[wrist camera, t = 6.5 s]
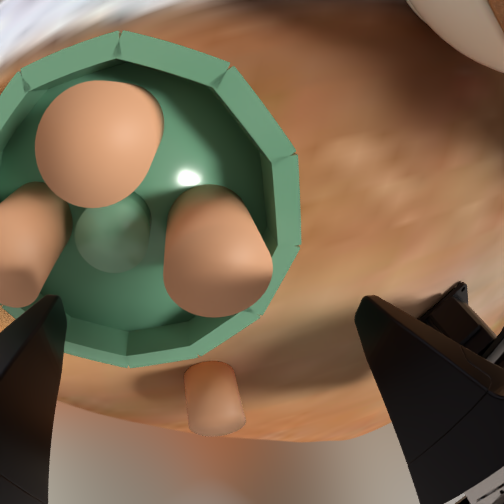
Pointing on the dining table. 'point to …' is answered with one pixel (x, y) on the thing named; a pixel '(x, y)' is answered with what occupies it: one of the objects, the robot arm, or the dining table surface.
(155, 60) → the ring tray
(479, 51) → the lidded jar
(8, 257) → the bead
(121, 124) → the bead
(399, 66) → the dining table surface
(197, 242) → the bead
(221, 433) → the bead
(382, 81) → the dining table surface
